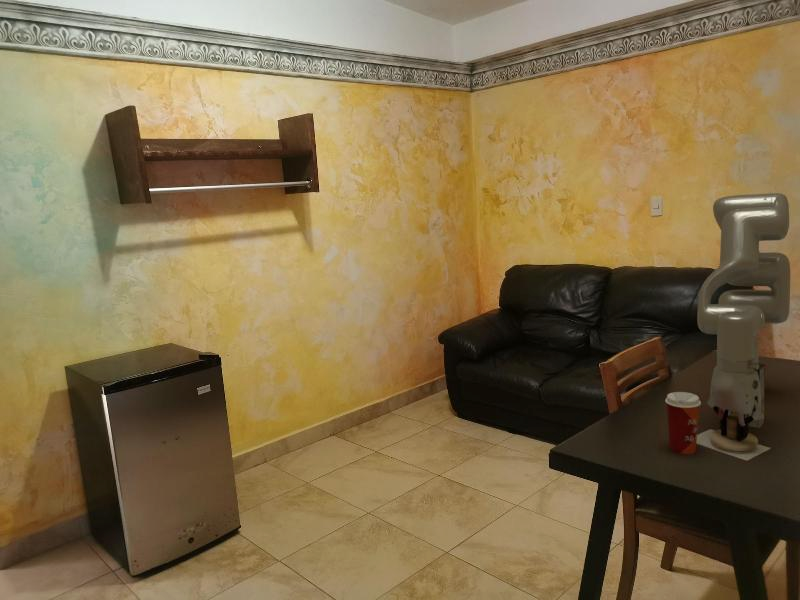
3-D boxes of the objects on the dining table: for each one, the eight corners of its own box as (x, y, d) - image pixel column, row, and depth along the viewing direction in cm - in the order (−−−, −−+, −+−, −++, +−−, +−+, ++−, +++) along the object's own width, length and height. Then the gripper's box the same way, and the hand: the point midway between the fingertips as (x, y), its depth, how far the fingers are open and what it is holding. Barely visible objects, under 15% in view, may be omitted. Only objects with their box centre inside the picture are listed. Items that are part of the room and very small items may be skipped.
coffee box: (765, 422, 154) (766, 363, 151) (759, 430, 149) (761, 370, 146) (726, 415, 160) (727, 359, 157) (720, 423, 155) (720, 365, 152)
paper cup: (698, 460, 136) (699, 403, 134) (663, 455, 140) (662, 400, 138) (702, 447, 143) (702, 392, 140) (667, 442, 147) (667, 389, 144)
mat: (710, 431, 151) (710, 429, 151) (770, 450, 138) (770, 448, 138) (686, 442, 146) (686, 439, 146) (746, 463, 133) (746, 460, 133)
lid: (725, 429, 148) (725, 406, 146) (766, 442, 139) (767, 418, 138) (701, 440, 143) (701, 417, 142) (742, 454, 134) (743, 430, 133)
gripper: (780, 368, 132) (778, 443, 135) (711, 353, 146) (710, 422, 149) (762, 376, 128) (760, 453, 132) (692, 360, 142) (692, 430, 146)
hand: (733, 435), depth 141 cm, fingers closed on lid, 3 cm apart
